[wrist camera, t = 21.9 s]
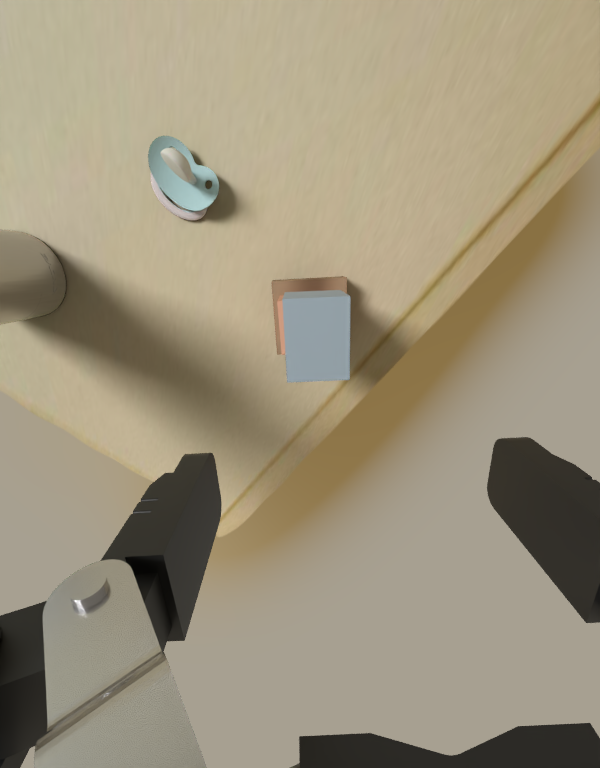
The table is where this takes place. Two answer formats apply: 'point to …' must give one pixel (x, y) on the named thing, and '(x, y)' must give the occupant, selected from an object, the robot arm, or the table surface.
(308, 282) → the base block
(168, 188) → the pacifier
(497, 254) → the table surface
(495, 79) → the table surface
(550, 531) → the robot arm
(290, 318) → the brick slate
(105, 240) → the table surface
